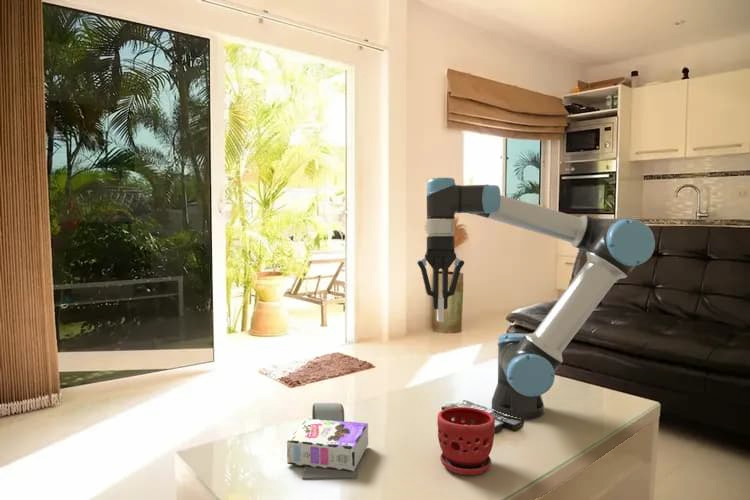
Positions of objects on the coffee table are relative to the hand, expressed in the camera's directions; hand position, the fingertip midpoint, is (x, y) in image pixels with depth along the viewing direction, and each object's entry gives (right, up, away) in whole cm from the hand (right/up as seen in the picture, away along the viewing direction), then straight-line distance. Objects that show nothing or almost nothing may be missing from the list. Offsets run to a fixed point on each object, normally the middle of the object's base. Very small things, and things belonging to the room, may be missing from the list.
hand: (440, 320), depth 138 cm
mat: (-28, -31, -19) cm, 46 cm away
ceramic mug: (-31, -30, 0) cm, 43 cm away
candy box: (-21, -27, -18) cm, 39 cm away
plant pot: (+3, -31, -21) cm, 38 cm away
